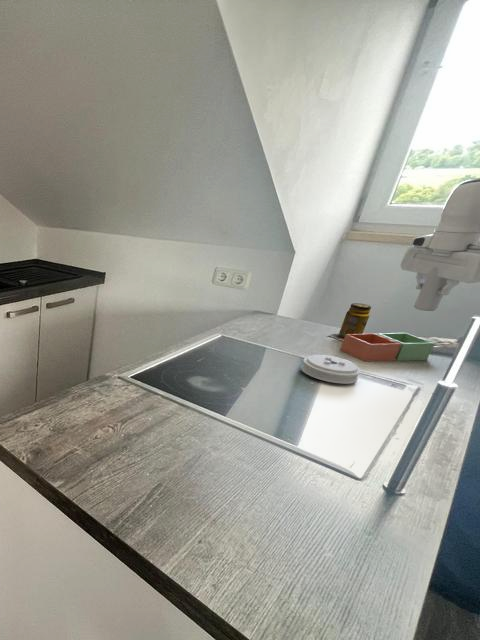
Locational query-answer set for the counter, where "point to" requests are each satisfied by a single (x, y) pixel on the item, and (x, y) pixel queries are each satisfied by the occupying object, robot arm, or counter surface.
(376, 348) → the terracotta bin
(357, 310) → the condiment
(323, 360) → the lid
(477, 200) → the robot arm
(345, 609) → the counter surface
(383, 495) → the counter surface
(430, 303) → the beverage can
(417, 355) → the green bin
